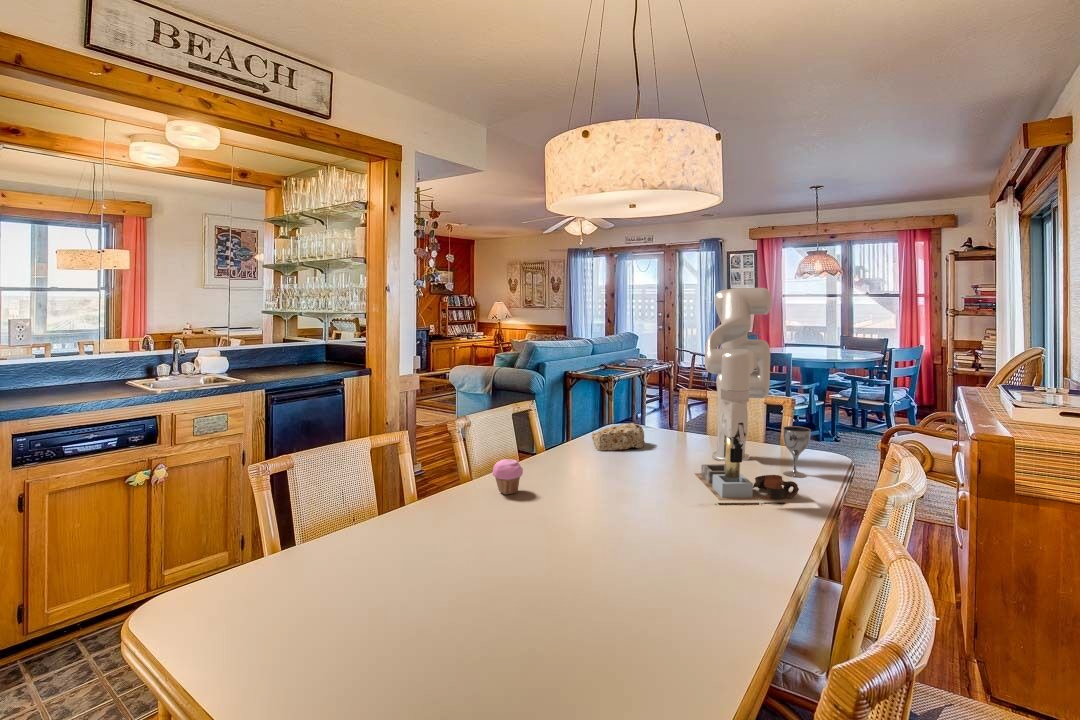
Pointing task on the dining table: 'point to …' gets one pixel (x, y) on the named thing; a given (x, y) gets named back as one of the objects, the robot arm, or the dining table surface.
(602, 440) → the rock
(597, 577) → the dining table surface
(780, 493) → the pottery mug
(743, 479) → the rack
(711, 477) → the tool board
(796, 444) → the wine glass
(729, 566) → the dining table surface
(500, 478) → the cupcake
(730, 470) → the brass cylinder
